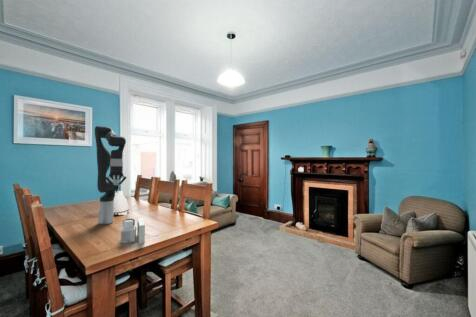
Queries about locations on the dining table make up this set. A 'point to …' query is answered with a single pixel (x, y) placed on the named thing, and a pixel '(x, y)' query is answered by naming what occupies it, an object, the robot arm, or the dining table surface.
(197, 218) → the dining table surface
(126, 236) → the container
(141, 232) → the plate
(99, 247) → the dining table surface
